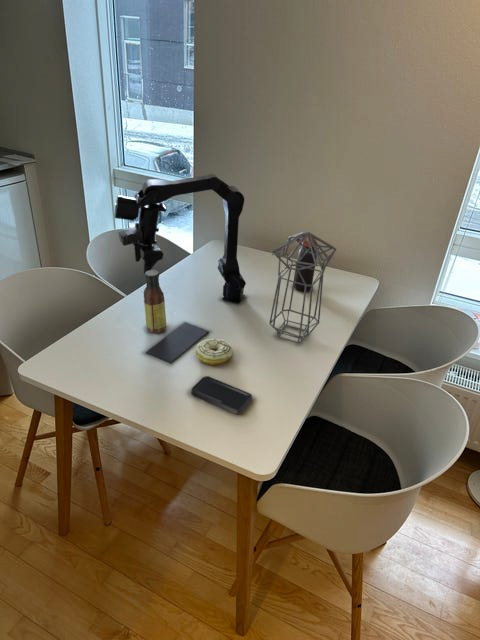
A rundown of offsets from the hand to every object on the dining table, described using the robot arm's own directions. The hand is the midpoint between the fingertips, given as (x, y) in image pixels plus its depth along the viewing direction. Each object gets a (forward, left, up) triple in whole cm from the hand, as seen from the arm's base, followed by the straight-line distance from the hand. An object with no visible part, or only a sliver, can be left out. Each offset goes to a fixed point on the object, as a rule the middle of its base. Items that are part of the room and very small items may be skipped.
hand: (141, 267), depth 155 cm
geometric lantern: (-51, -7, -15) cm, 54 cm away
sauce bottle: (-11, +10, -15) cm, 21 cm away
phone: (-43, +30, -15) cm, 54 cm away
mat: (-21, +13, -15) cm, 29 cm away
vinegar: (-45, -40, -15) cm, 62 cm away
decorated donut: (-34, +15, -15) cm, 40 cm away
